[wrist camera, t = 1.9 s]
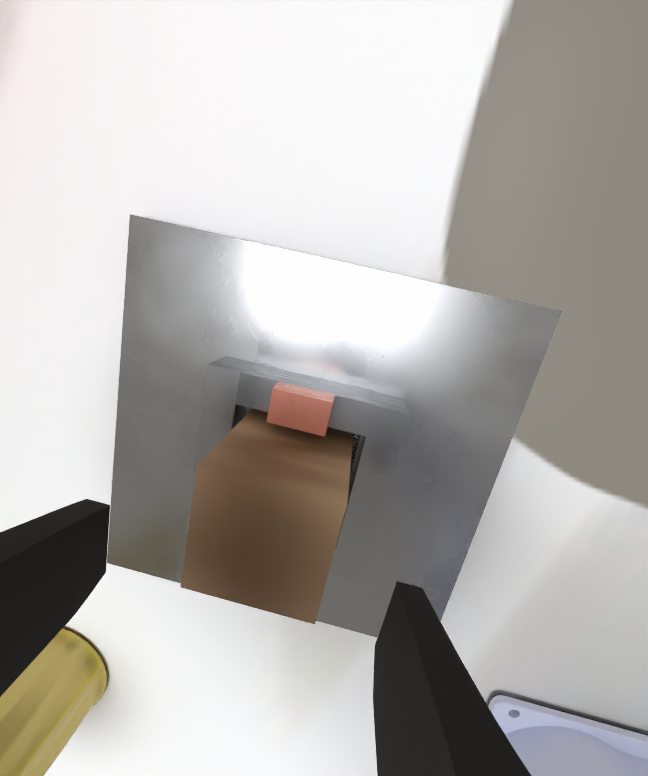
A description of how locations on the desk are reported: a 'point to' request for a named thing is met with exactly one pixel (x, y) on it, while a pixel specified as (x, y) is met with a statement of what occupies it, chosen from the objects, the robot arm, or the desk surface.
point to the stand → (317, 401)
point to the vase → (48, 704)
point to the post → (268, 516)
